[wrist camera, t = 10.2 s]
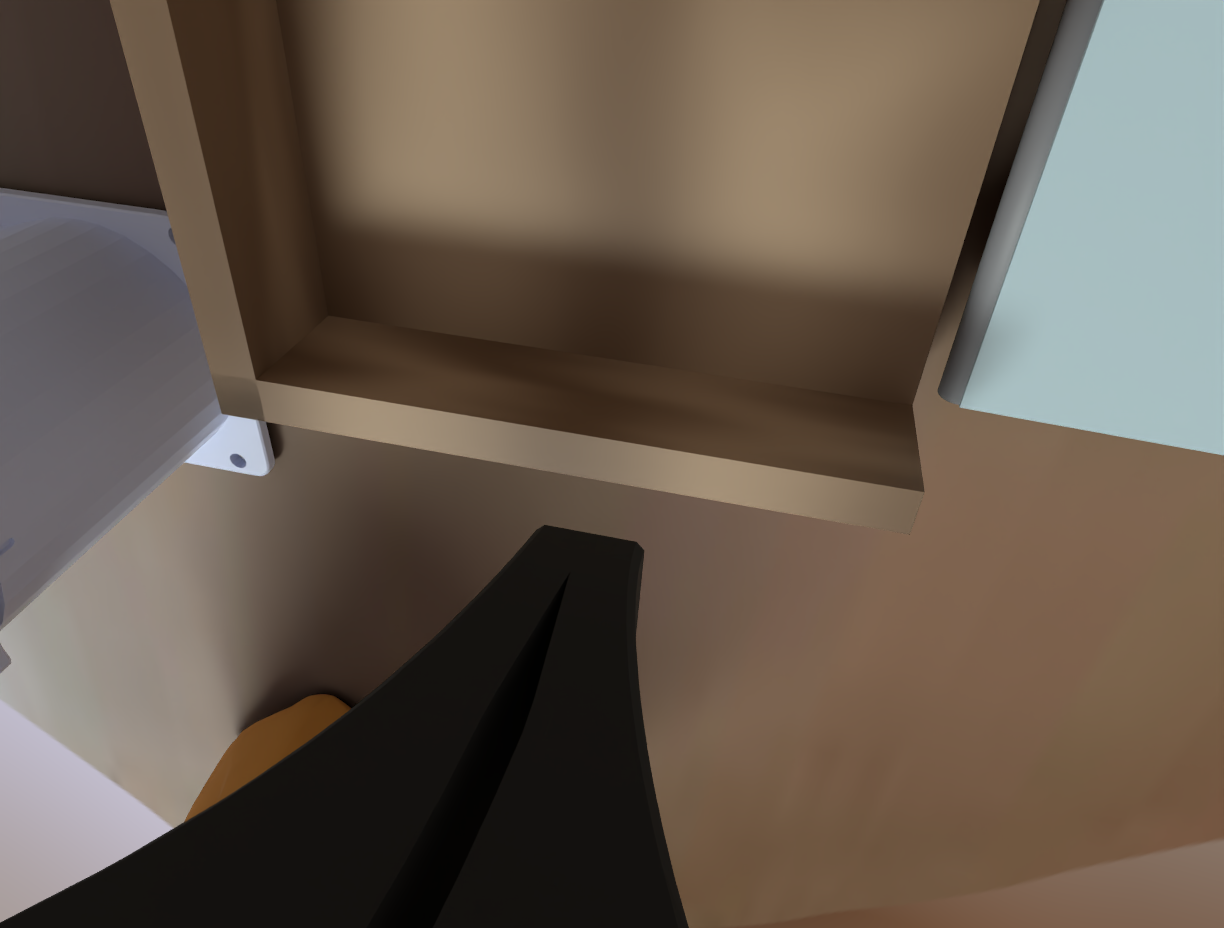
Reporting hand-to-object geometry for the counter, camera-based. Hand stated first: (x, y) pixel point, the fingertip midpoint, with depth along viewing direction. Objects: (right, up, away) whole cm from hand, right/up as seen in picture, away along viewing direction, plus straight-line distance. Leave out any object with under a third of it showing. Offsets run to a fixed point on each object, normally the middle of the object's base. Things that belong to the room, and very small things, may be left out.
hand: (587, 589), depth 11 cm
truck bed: (0, +9, +6) cm, 11 cm away
